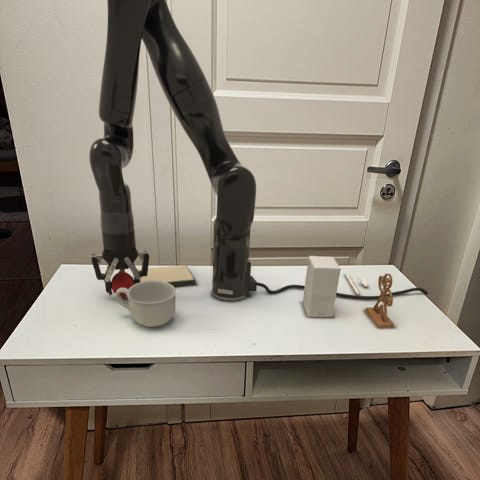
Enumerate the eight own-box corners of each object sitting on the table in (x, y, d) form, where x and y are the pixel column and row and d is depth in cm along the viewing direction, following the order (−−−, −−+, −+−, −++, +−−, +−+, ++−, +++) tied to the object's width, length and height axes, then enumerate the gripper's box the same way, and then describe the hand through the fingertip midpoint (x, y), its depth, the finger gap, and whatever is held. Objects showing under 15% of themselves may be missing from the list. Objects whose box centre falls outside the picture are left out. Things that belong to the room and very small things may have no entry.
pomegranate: (129, 304, 107) (127, 274, 103) (108, 301, 108) (105, 271, 104) (139, 294, 112) (137, 265, 108) (118, 291, 113) (115, 263, 109)
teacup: (184, 315, 104) (183, 285, 100) (163, 336, 95) (161, 304, 91) (133, 304, 107) (131, 274, 103) (108, 324, 98) (104, 292, 94)
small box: (332, 317, 106) (341, 268, 100) (307, 317, 106) (314, 267, 99) (325, 302, 113) (333, 256, 107) (302, 302, 113) (308, 255, 106)
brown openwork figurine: (393, 327, 103) (405, 281, 97) (378, 328, 102) (389, 282, 97) (378, 310, 111) (389, 266, 105) (364, 310, 110) (373, 267, 104)
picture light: (345, 275, 130) (346, 268, 129) (359, 275, 130) (360, 269, 129) (356, 295, 118) (358, 288, 117) (372, 296, 118) (374, 289, 117)
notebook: (187, 270, 128) (187, 264, 127) (195, 285, 119) (195, 279, 118) (135, 274, 124) (135, 268, 123) (140, 290, 115) (140, 284, 114)
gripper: (86, 234, 96) (94, 301, 104) (151, 231, 100) (154, 296, 109) (85, 224, 102) (93, 289, 110) (146, 222, 107) (150, 284, 115)
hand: (123, 292), depth 109 cm, fingers closed on pomegranate, 6 cm apart
